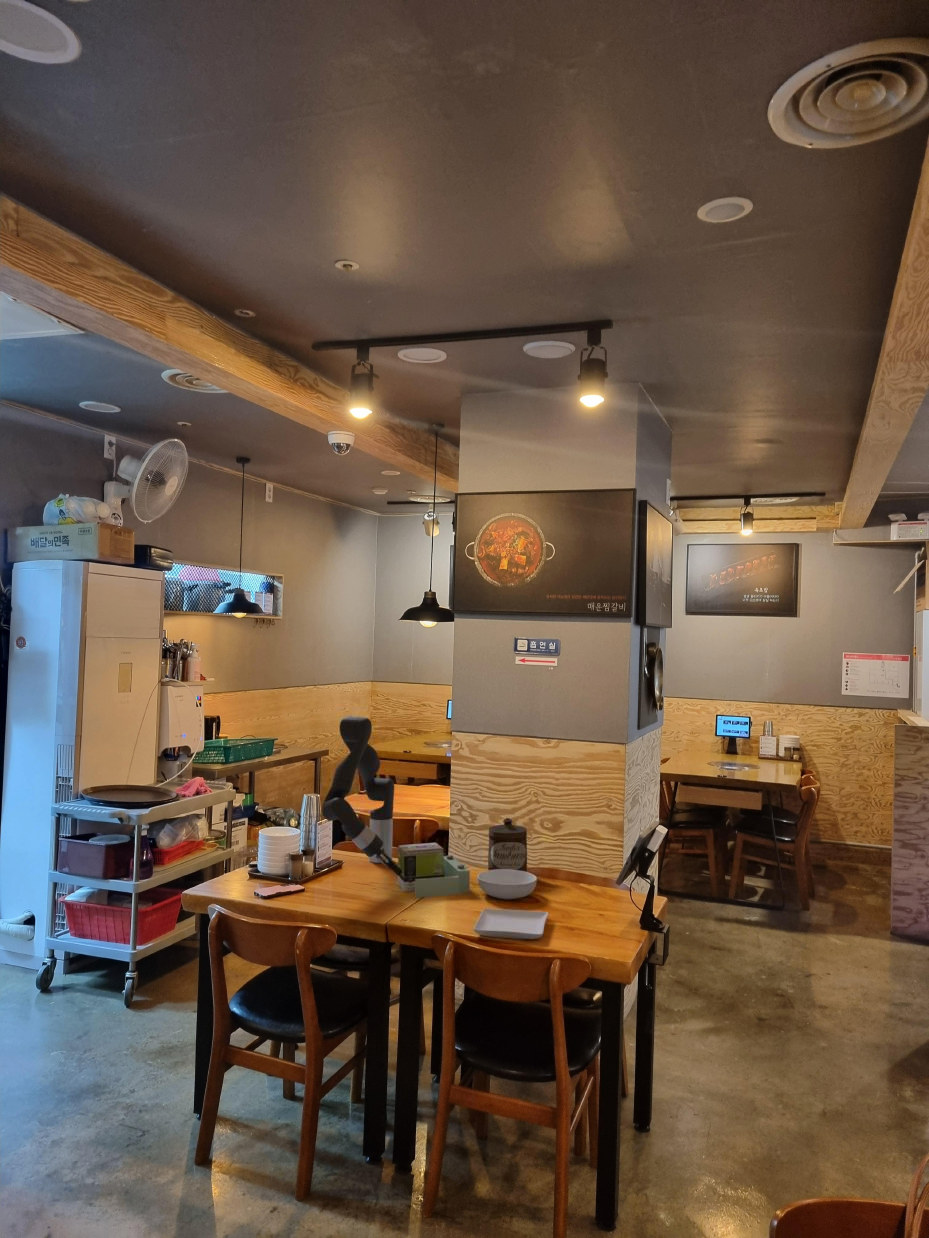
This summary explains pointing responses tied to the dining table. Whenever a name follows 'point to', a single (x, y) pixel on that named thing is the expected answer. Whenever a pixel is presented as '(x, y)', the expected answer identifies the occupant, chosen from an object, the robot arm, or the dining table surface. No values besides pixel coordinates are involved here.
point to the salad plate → (511, 923)
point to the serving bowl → (507, 883)
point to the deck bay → (445, 881)
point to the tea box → (419, 863)
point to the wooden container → (507, 847)
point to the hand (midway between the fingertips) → (400, 873)
